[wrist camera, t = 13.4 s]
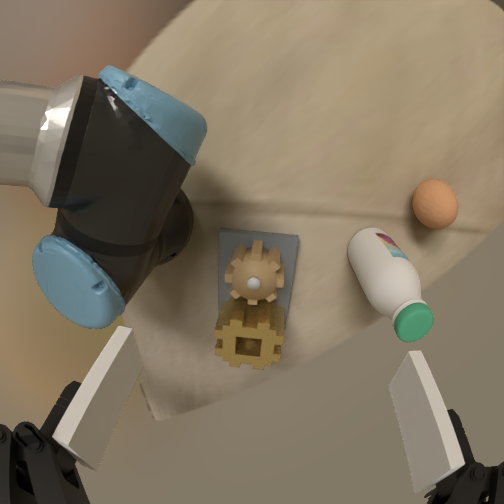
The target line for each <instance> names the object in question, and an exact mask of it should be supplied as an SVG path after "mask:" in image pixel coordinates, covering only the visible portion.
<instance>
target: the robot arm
mask: <svg viewBox="0 0 504 504" xmlns="http://www.w3.org/2000/svg"><path fill="white" fill-rule="evenodd" d="M98 77H99V79H95V78H91V77H87V76H82V75H78V76H76V77H74V78H73V79H71V80H69V81H67V82H66V83H64V84H62V85H61V86H59V87H47V86H42V85H36V84H30V83H23V82H16V81H7V80H0V185H10V186H21V187H29V188H30V189H31V190H32V191H33V192H34V193H35V195H36V196H37V198H38V199H39V201H40V202H41V203H42V205H43V206H44V207H51V208H58V212H57V217H56V223H55V228H54V231H53V232H52V234H51V235H47V236H45V237H43V238H42V239H41V241H40V242H39V244H37V246H36V247H35V249H34V252H33V256H32V265H33V271H34V275H35V278H36V280H37V283H38V285H39V287H40V289H41V290H42V292H43V293H44V295H45V296H46V298H47V299H48V301H49V302H50V303H51V304H52V305H53V306H54V307H55V309H56V310H57V311H59V312H60V313H61V314H62V315H63V316H65V317H66V318H67V319H69V320H70V321H72V322H74V323H75V324H78V325H80V326H82V327H85V328H90V329H91V328H94V329H102V328H105V327H107V326H109V325H110V324H111V323H113V321H114V320H115V319H116V318H117V317H118V316H119V315H121V314H122V313H123V312H124V310H125V306H126V305H127V304H128V302H129V301H130V299H131V298H132V297H133V295H134V294H135V293H136V291H137V290H138V289H139V287H140V286H141V284H142V283H143V282H144V280H145V279H146V278H147V276H148V275H149V274H150V273H151V271H152V270H153V268H154V267H156V266H158V265H161V264H163V263H166V262H168V261H170V260H172V259H173V258H175V257H176V256H177V255H178V254H179V253H180V252H181V251H182V249H183V248H184V247H185V245H186V244H187V242H188V240H189V238H190V236H191V232H192V227H193V216H192V210H191V207H190V204H189V201H188V199H187V197H186V196H185V194H184V193H183V191H182V190H181V189H180V188H181V186H182V183H183V181H184V179H185V177H186V175H187V173H188V171H189V169H190V167H191V166H194V165H195V162H196V161H195V157H196V155H197V153H198V151H199V149H200V147H201V144H202V142H203V140H204V138H205V136H206V133H207V124H206V121H205V119H204V117H203V116H202V115H201V114H200V113H199V112H197V111H196V110H194V109H193V108H191V107H189V106H188V105H186V104H184V103H183V102H181V101H179V100H177V99H176V98H174V97H172V96H170V95H169V94H167V93H165V92H163V91H161V90H160V89H158V88H156V87H154V86H152V85H150V84H148V83H147V82H145V81H143V80H141V79H139V78H137V77H135V76H133V75H131V74H129V73H126V72H124V71H122V70H120V69H118V68H116V67H113V66H110V65H109V66H107V67H106V68H104V70H103V71H101V72H100V73H99V76H98ZM142 368H143V364H142V361H141V358H140V354H139V351H138V347H137V343H136V340H135V336H134V332H133V329H132V328H127V327H123V326H118V328H117V329H116V331H115V332H114V334H113V335H112V337H111V338H110V340H109V341H108V343H107V345H106V346H105V347H104V349H103V350H102V352H101V354H100V355H99V357H98V358H97V360H96V361H95V363H94V365H93V366H92V368H91V370H90V371H89V373H88V375H87V376H86V378H85V379H84V381H83V383H82V384H81V383H79V382H76V381H73V382H71V383H70V384H69V385H68V386H66V387H65V389H64V390H63V392H62V394H61V395H60V398H59V399H58V400H57V402H56V405H54V407H53V408H52V410H51V412H50V414H49V415H48V417H47V419H46V421H45V422H44V424H43V426H42V428H41V429H40V430H38V429H37V427H36V426H35V425H34V424H32V423H30V422H21V423H19V424H18V425H17V426H16V427H15V429H14V431H13V432H12V431H11V430H10V429H9V428H7V427H6V425H2V424H0V504H90V502H89V500H88V497H87V495H86V492H85V490H84V487H83V485H82V482H81V479H80V476H79V474H78V471H77V468H76V466H75V463H76V460H77V461H78V462H79V463H80V464H82V465H83V466H85V467H88V468H89V469H92V470H94V471H97V470H98V467H99V465H100V463H101V460H102V458H103V455H104V453H105V451H106V448H107V446H108V443H109V441H110V439H111V436H112V434H113V432H114V429H115V427H116V425H117V423H118V420H119V418H120V415H121V414H122V411H123V409H124V407H125V405H126V402H127V400H128V398H129V396H130V394H131V392H132V389H133V387H134V385H135V383H136V381H137V379H138V377H139V375H140V373H141V370H142ZM388 387H389V391H390V394H391V397H392V401H393V404H394V408H395V411H396V415H397V419H398V422H399V426H400V430H401V434H402V437H403V442H404V446H405V450H406V455H407V459H408V463H409V468H410V473H411V477H412V483H413V488H414V493H417V492H420V491H423V490H426V489H429V488H430V487H432V486H433V485H435V484H436V488H435V489H433V490H432V491H430V492H428V493H427V494H426V495H425V496H424V498H426V497H428V496H430V495H431V497H429V498H428V499H429V501H428V502H427V504H504V462H502V463H501V464H500V465H498V466H492V467H484V465H483V464H481V463H478V462H476V461H475V460H474V457H473V454H472V452H471V448H470V445H469V443H468V439H467V437H466V435H465V431H464V428H463V427H462V423H461V421H460V418H459V416H458V415H457V414H456V412H455V411H454V410H453V409H450V410H446V407H445V404H444V402H443V400H442V397H441V395H440V392H439V390H438V387H437V385H436V383H435V381H434V378H433V376H432V374H431V372H430V369H429V367H428V365H427V363H426V361H425V359H424V357H423V354H422V353H421V351H409V352H408V353H407V355H406V357H405V359H404V361H403V362H402V364H401V366H400V368H399V369H398V371H397V373H396V374H395V376H394V378H393V379H392V381H391V383H390V384H389V386H388ZM487 496H489V498H488V501H487V502H486V497H487Z"/></svg>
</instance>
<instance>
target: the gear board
mask: <svg viewBox="0 0 504 504" xmlns="http://www.w3.org/2000/svg"><path fill="white" fill-rule="evenodd" d="M298 241H299V238H298V235H289V234H279V233H268V232H257V231H245V230H233V229H220V231H219V313H220V310H221V306H222V303H223V301H226V302H229V299H230V297H234V298H235V299H237V298H238V297H240V296H242V297H244V298H246V299H248V304H250V305H257V300H261V299H264V298H265V299H266V300H267V301H268V302H270V301H277V307H284V330H285V324H286V318H287V312H288V306H289V300H290V294H291V288H292V282H293V275H294V269H295V262H296V255H297V248H298Z"/></svg>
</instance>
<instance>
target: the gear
mask: <svg viewBox="0 0 504 504" xmlns="http://www.w3.org/2000/svg"><path fill="white" fill-rule="evenodd" d="M215 338H218V339H217V343H216V347H215V355H216V356H223V361H229V366H232V367H240V364H241V363H246V364H254V365H253V369H261V370H264V365H267V366H271V364H272V362H279V361H280V356H281V345H283V340H284V307H277V301H270V302H268V301H267V300H266V299H265V298H264V299H261V300H257V305H250V304H248V299H246V298H244V297H242V296H240V297H238V298H237V299H235V298H234V297H230V299H229V302H226V301H223V303H222V306H221V310H220V313H219V316H218V320H217V323H216V327H215Z"/></svg>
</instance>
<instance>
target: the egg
mask: <svg viewBox="0 0 504 504" xmlns="http://www.w3.org/2000/svg"><path fill="white" fill-rule="evenodd" d="M412 206H413V210H414V213H415V215H416V217H417V218H418V220H419V221H420V222H421V223H422V224H424V225H425V226H427V227H430V228H433V229H441V228H445V227H448V226H449V225H451V224H452V223H453V222H454V220H455V219H456V217H457V213H458V201H457V198H456V195H455V193H454V191H453V190H452V189H451V188H450V187H449V186H448V185H447V184H446V183H444V182H442V181H440V180H435V179H431V180H426V181H424V182H422V183H421V184H420V185H419V186H418V187H417V188H416V190H415V192H414V194H413V198H412Z"/></svg>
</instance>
